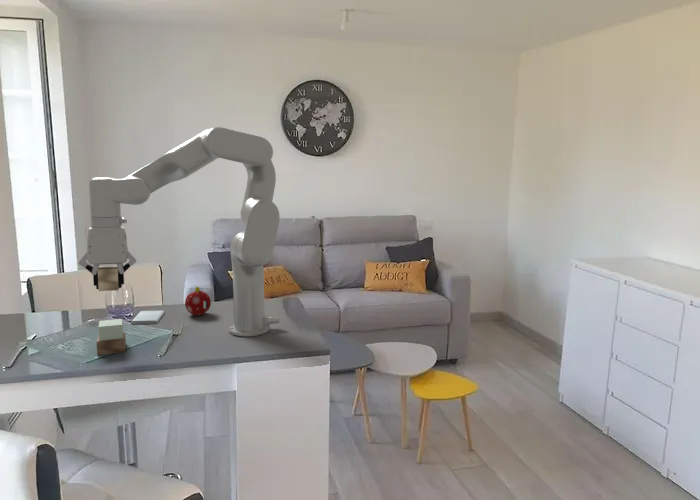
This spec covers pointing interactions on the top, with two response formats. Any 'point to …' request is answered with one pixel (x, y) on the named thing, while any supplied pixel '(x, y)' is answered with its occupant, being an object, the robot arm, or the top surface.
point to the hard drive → (148, 317)
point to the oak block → (108, 278)
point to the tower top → (110, 329)
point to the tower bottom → (111, 345)
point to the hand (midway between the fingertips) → (109, 286)
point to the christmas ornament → (197, 302)
